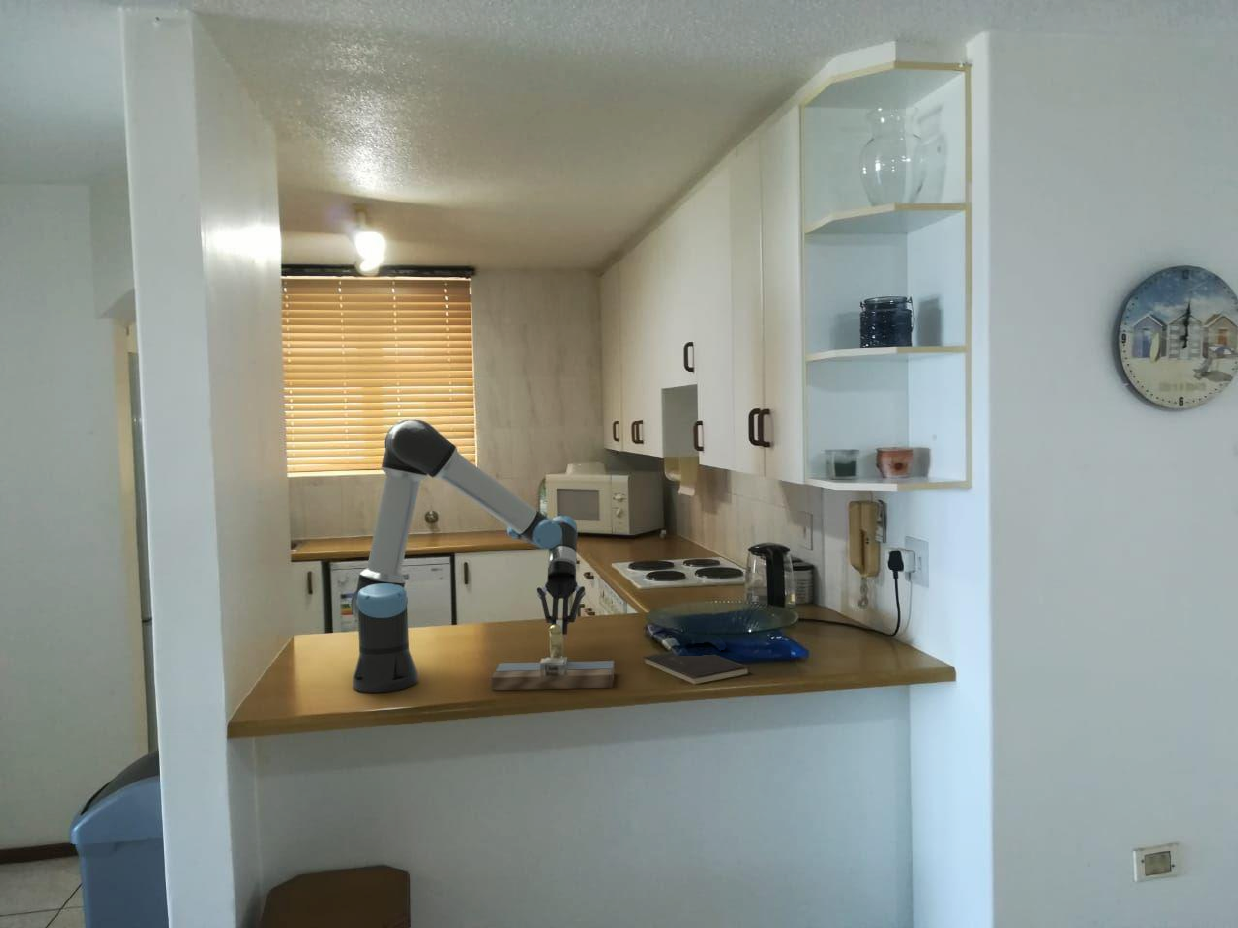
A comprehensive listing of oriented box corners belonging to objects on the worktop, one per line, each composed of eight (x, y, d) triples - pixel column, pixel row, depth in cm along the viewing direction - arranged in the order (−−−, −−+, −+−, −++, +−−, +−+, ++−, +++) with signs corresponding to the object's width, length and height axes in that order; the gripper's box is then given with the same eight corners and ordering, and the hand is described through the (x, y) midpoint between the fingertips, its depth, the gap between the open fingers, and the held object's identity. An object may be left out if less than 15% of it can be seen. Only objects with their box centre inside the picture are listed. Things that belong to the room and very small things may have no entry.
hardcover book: (693, 686, 205) (693, 677, 204) (643, 665, 225) (643, 656, 225) (749, 675, 212) (749, 666, 212) (696, 655, 232) (695, 646, 232)
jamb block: (492, 690, 205) (491, 664, 205) (495, 683, 210) (494, 658, 210) (612, 687, 204) (611, 661, 204) (613, 681, 209) (612, 656, 209)
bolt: (547, 667, 210) (546, 629, 210) (550, 659, 217) (549, 623, 217) (561, 667, 210) (559, 629, 210) (563, 659, 217) (562, 622, 217)
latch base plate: (496, 683, 210) (495, 665, 210) (500, 675, 217) (499, 658, 217) (613, 680, 210) (612, 663, 209) (614, 672, 216) (613, 656, 216)
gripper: (587, 575, 238) (585, 652, 222) (539, 576, 238) (534, 653, 222) (585, 558, 233) (584, 636, 217) (536, 560, 233) (531, 637, 217)
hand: (558, 645), depth 220 cm, fingers closed
